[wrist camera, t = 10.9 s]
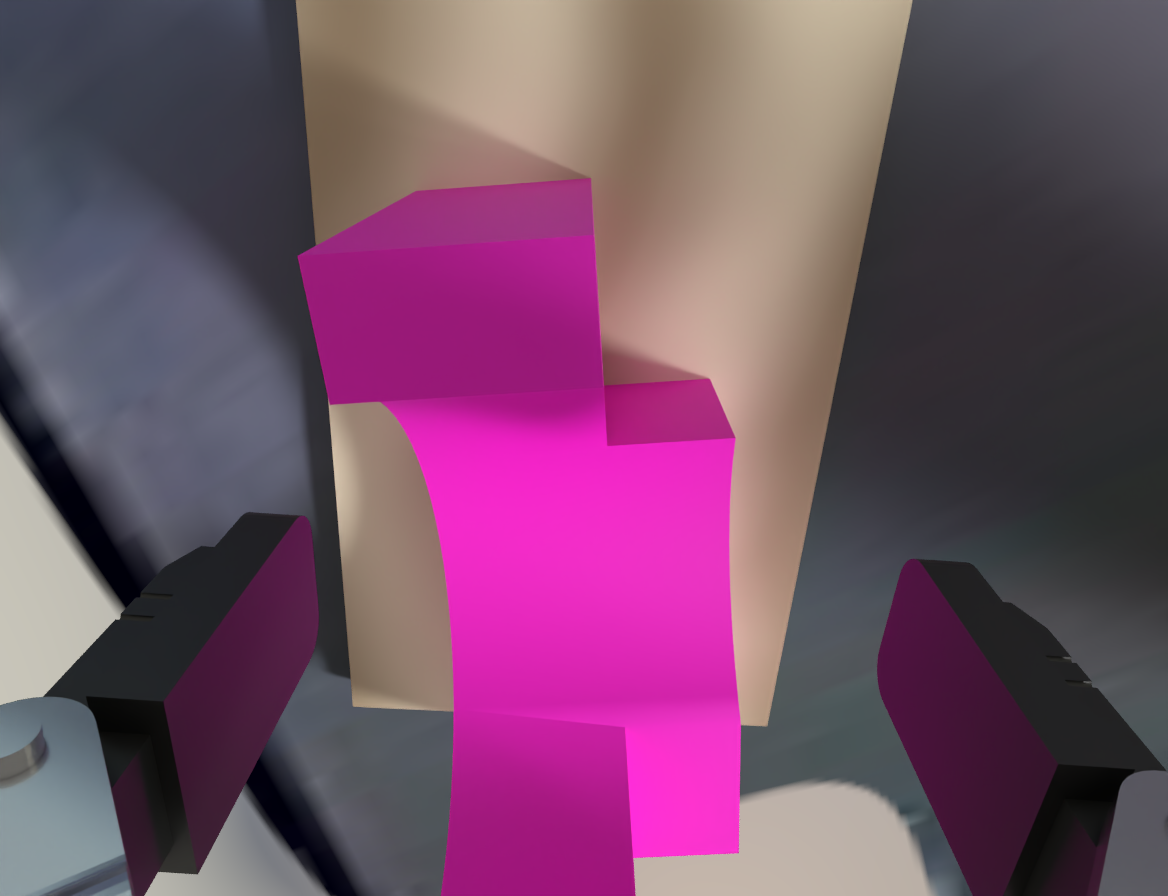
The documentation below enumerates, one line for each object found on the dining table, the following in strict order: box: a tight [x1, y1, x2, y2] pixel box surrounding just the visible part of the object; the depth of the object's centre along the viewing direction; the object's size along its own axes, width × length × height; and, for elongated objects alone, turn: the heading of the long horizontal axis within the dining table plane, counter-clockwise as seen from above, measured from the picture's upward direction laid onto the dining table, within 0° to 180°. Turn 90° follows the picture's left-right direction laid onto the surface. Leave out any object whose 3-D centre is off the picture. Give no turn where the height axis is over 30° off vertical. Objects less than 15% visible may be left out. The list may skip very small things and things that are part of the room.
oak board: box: [296, 0, 913, 726], centre depth 19 cm, size 12×20×1 cm, turn 177°
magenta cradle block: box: [298, 178, 741, 896], centre depth 16 cm, size 15×6×8 cm, turn 4°
